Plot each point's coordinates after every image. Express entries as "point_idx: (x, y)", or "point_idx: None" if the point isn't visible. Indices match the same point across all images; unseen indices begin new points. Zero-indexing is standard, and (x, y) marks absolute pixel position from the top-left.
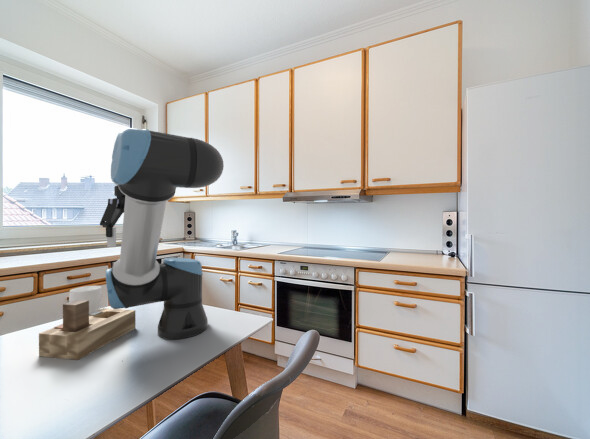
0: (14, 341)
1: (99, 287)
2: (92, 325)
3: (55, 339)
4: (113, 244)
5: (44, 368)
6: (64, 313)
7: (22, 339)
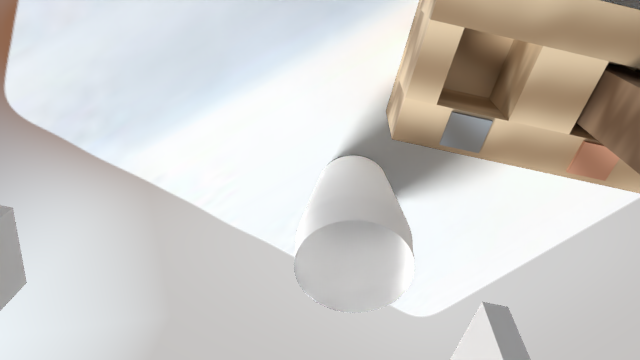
0: (470, 279)
1: (300, 239)
2: (626, 55)
3: None
4: (513, 339)
5: None
6: None
7: (460, 271)
